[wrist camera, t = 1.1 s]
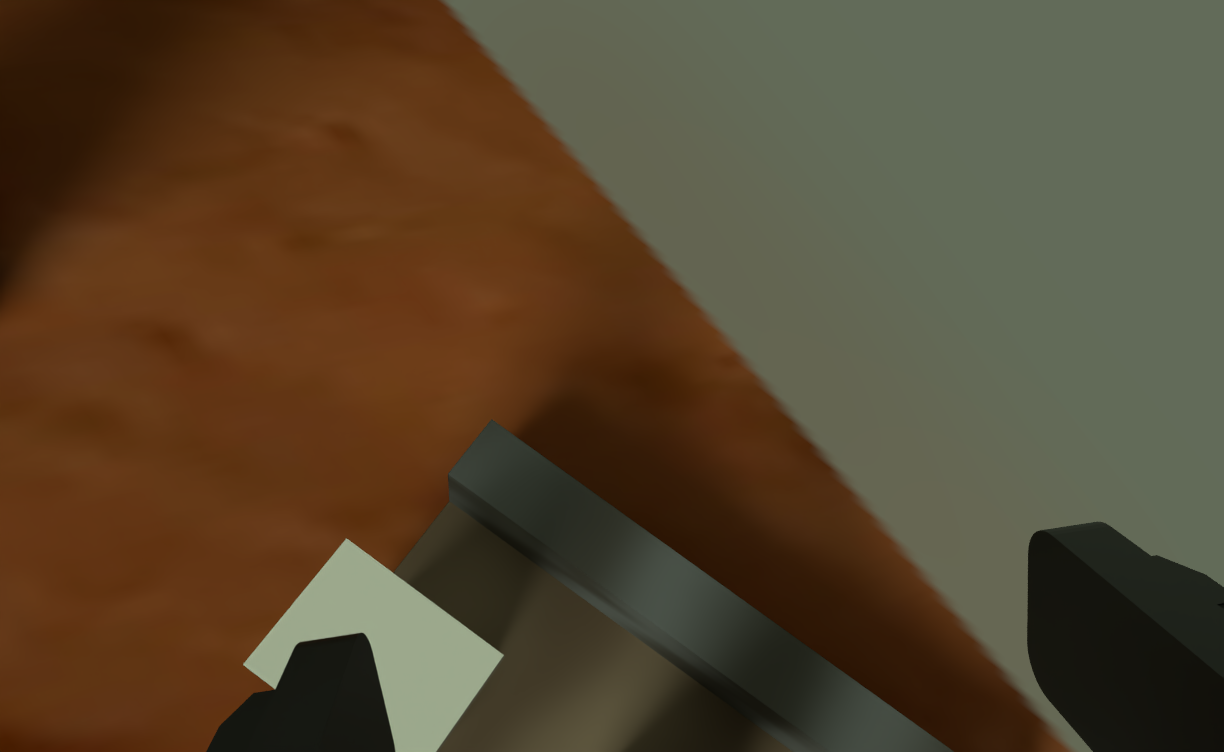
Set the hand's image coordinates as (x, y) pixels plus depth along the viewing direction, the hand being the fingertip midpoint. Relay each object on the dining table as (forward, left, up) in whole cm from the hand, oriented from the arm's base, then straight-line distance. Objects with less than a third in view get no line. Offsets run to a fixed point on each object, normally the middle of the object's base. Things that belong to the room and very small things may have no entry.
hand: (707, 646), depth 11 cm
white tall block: (-4, -2, -20) cm, 21 cm away
